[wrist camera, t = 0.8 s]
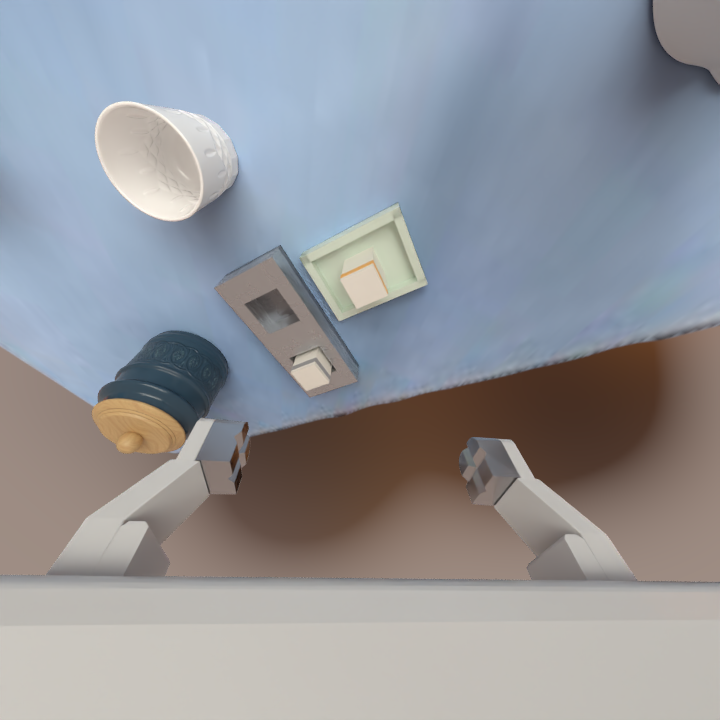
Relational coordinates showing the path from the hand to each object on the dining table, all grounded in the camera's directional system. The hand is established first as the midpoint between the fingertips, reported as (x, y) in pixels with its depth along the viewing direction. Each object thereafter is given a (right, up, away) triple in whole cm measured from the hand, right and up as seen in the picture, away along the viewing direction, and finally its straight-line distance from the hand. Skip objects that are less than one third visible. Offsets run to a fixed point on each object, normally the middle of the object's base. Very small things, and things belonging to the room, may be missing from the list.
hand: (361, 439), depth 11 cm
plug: (+1, +15, +26) cm, 30 cm away
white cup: (-16, +25, +20) cm, 36 cm away
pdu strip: (-9, +8, +33) cm, 35 cm away
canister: (-29, +3, +39) cm, 48 cm away
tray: (+1, +15, +27) cm, 31 cm away
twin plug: (-7, +4, +35) cm, 36 cm away
